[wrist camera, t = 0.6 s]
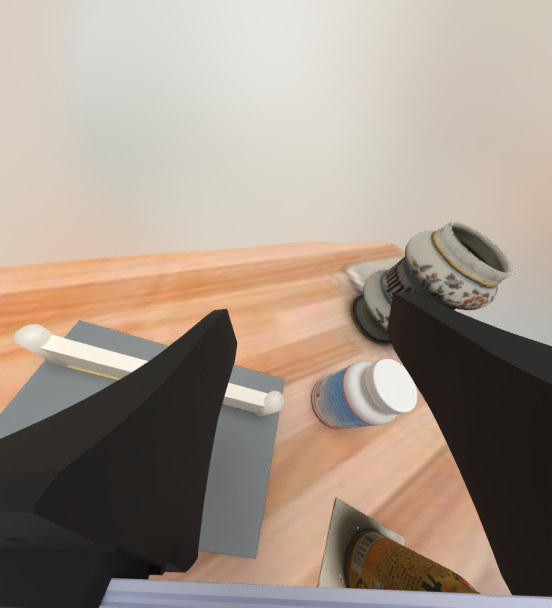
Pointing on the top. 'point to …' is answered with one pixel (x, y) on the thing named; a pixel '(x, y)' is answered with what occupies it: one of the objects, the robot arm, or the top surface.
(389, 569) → the condiment
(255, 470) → the board
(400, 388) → the pill bottle
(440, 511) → the top surface
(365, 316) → the apothecary jar
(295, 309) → the top surface
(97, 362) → the fixed fence section
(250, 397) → the fence panel
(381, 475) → the top surface
